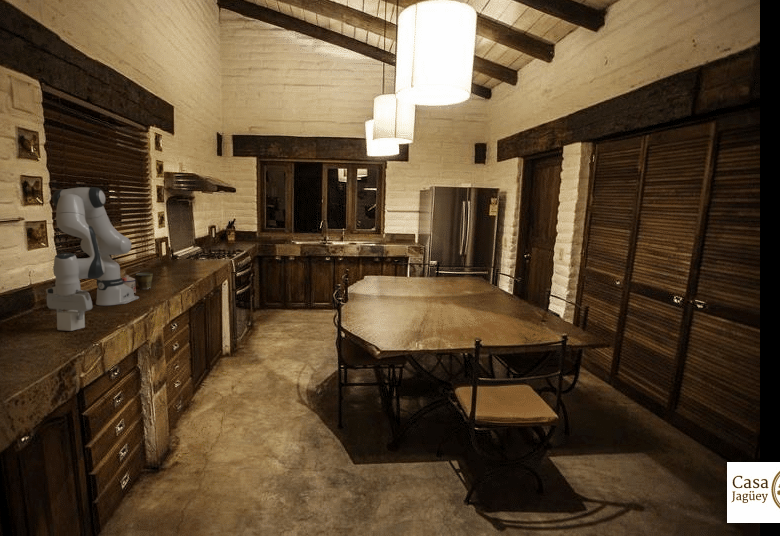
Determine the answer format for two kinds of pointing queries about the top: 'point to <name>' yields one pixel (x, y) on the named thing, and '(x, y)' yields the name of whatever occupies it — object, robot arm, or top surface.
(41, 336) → the top surface
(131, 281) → the teacup with lid
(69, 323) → the grey matte cube
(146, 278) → the ceramic cup
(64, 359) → the top surface
